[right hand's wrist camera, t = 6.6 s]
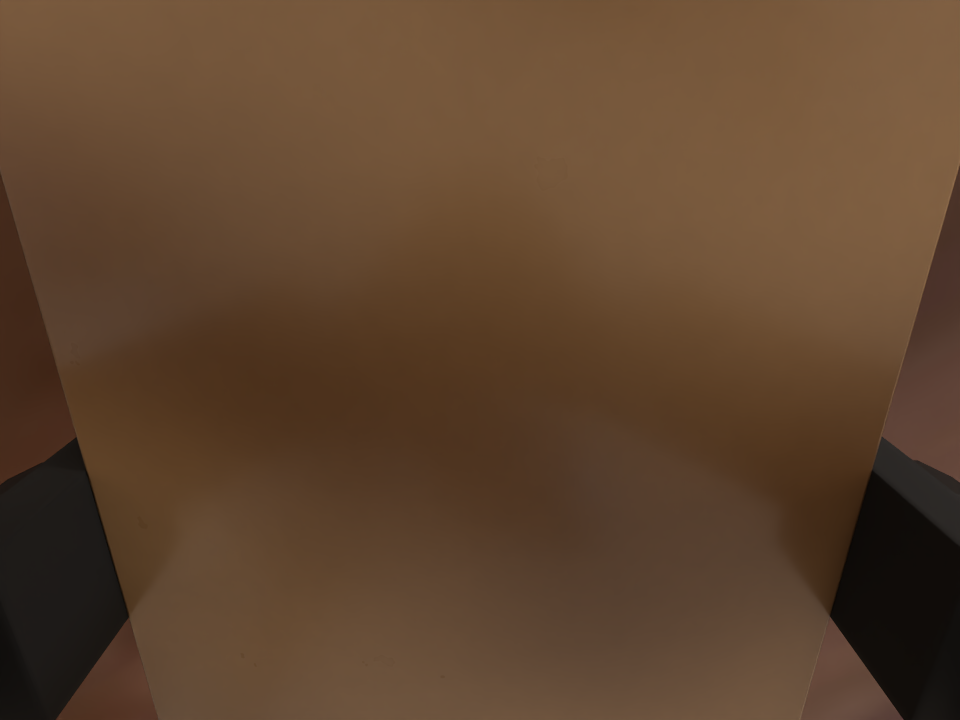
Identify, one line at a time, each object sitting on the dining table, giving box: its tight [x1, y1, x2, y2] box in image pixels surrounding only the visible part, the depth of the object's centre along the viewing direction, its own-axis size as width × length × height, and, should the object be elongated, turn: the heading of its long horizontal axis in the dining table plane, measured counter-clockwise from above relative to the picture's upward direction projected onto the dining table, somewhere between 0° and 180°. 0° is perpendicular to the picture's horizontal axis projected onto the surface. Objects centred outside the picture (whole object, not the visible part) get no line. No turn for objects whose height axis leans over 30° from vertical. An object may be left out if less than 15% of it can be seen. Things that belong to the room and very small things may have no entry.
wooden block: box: [0, 0, 960, 720], centre depth 13 cm, size 13×11×10 cm
